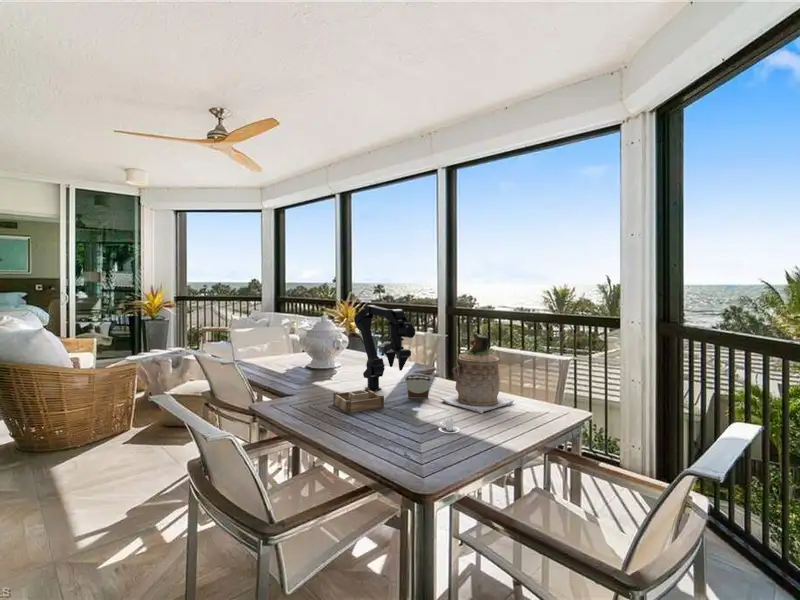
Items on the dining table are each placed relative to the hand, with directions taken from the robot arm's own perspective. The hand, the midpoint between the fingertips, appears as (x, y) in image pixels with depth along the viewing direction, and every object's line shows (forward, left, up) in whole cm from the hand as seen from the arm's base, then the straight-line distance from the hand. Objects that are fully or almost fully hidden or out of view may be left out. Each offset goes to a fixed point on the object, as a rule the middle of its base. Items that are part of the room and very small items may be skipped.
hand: (395, 368), depth 210 cm
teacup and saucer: (+49, -2, -14) cm, 51 cm away
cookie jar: (+28, +26, -13) cm, 40 cm away
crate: (+6, -22, -13) cm, 26 cm away
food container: (+6, +9, -13) cm, 17 cm away
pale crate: (+6, -22, -12) cm, 26 cm away
